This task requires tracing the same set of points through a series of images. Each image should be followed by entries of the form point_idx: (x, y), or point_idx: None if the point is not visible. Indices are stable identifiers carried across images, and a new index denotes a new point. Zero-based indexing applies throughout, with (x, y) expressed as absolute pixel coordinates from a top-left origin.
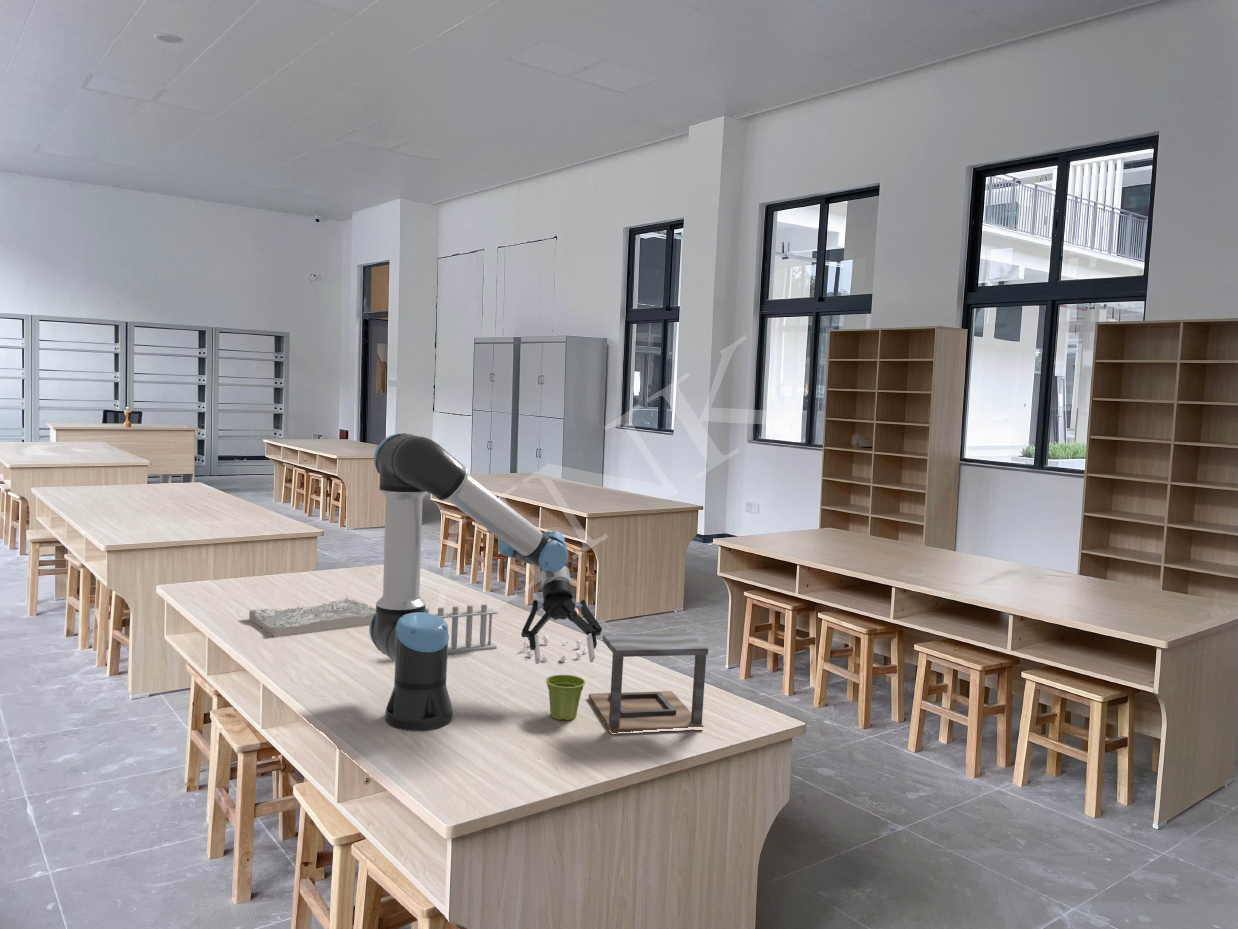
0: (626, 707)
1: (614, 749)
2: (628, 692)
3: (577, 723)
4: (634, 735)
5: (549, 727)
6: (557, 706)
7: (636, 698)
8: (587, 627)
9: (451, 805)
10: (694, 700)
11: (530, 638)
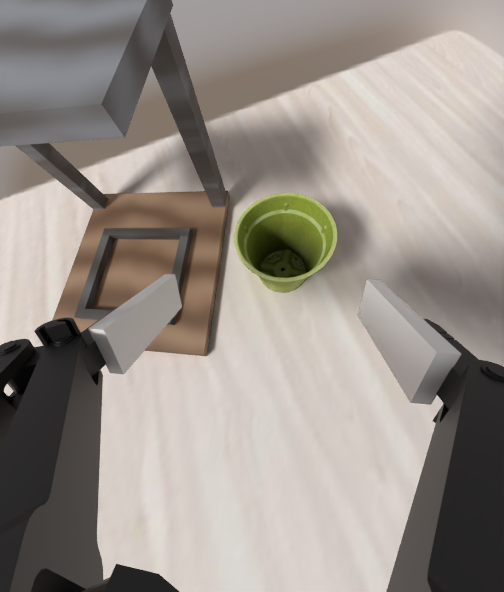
0: (166, 270)
1: (243, 157)
2: None
3: None
4: None
5: None
6: (302, 239)
7: None
8: (65, 365)
9: (462, 52)
10: (74, 171)
11: (472, 355)
